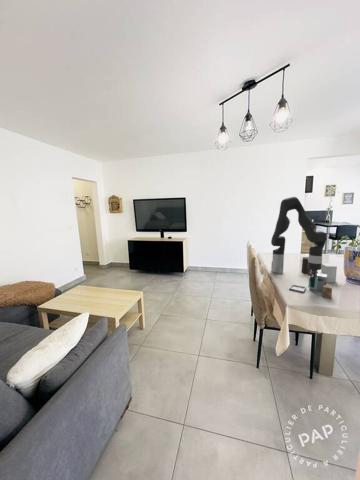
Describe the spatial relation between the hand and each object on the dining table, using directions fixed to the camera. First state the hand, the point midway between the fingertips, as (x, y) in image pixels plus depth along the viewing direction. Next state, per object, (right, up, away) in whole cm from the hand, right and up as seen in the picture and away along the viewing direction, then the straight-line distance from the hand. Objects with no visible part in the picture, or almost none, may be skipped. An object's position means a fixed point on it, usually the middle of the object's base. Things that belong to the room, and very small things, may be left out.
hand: (312, 285), depth 130 cm
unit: (+9, -4, +7) cm, 12 cm away
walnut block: (+7, -6, -4) cm, 10 cm away
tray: (-5, -5, +9) cm, 11 cm away
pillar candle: (+25, +1, +42) cm, 49 cm away
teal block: (0, -1, 0) cm, 1 cm away
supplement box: (+28, -1, +23) cm, 37 cm away
